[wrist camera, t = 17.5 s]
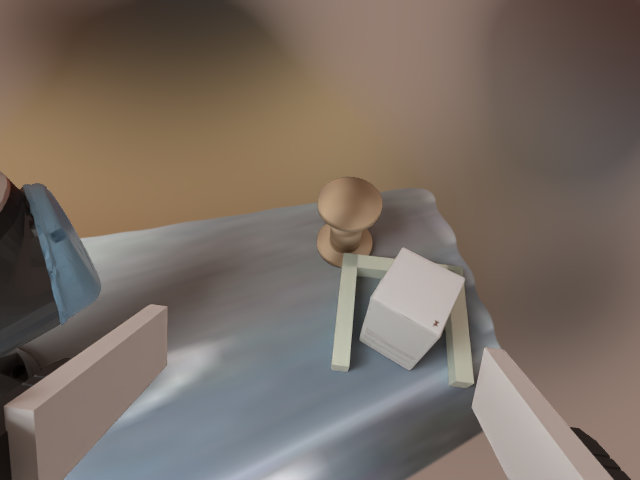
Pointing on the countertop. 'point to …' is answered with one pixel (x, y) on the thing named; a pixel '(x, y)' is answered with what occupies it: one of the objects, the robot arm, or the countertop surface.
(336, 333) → the u-shaped bracket
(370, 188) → the bobbin
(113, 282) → the countertop surface
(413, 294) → the supplement box
